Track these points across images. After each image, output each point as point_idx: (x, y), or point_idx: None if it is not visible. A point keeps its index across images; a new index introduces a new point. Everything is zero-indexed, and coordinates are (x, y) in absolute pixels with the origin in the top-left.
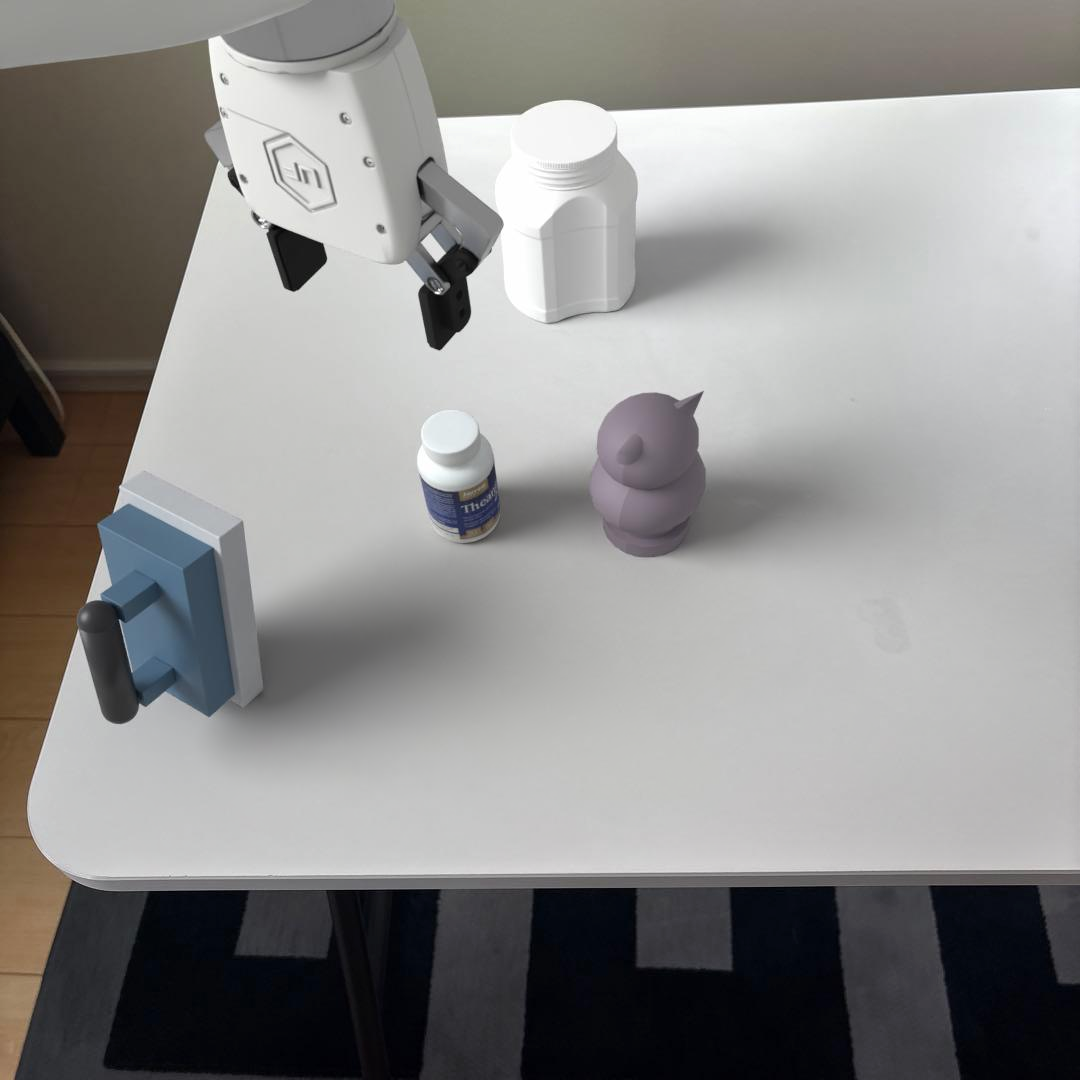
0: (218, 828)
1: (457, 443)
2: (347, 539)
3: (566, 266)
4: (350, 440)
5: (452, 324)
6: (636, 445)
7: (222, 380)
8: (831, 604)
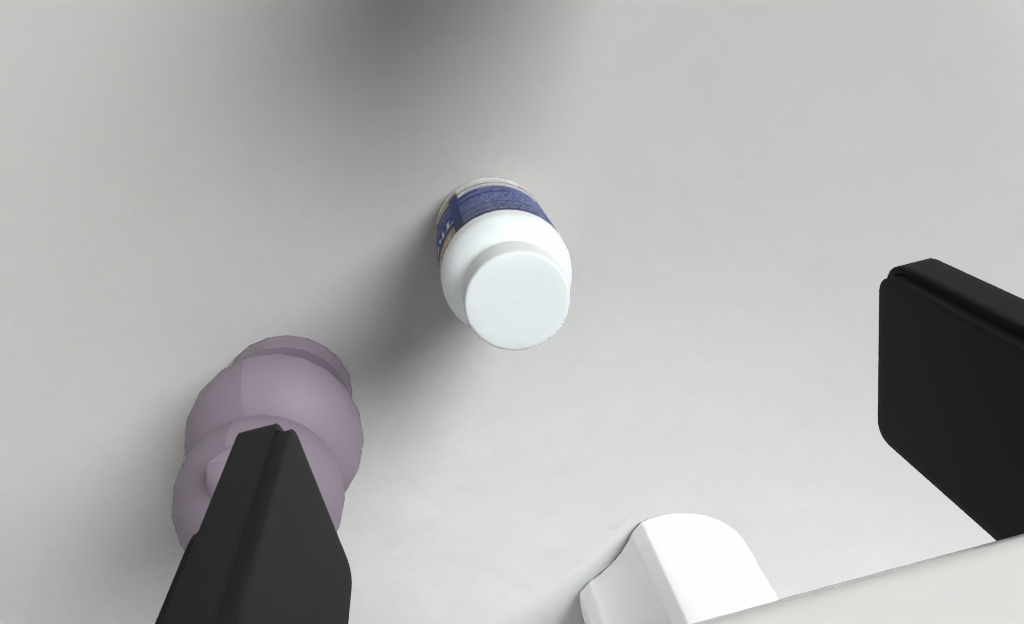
0: None
1: (484, 292)
2: (600, 73)
3: (653, 615)
4: (729, 207)
5: (185, 556)
6: (210, 490)
7: (978, 149)
8: (10, 457)
